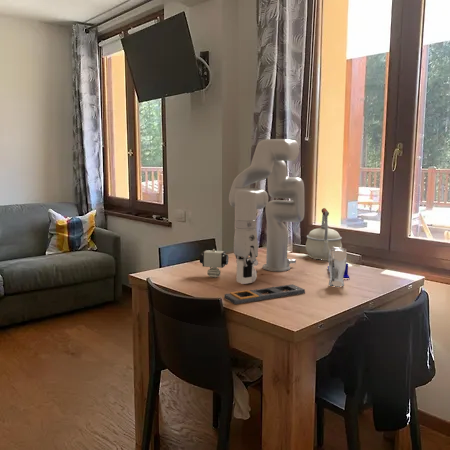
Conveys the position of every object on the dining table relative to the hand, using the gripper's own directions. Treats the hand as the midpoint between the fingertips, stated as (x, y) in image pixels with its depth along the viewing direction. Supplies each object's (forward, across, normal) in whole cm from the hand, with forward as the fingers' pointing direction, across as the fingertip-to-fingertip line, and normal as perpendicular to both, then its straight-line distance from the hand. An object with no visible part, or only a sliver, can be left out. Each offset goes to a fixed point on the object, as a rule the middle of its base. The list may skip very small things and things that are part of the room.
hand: (244, 275), depth 161 cm
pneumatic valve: (+9, +33, -4) cm, 35 cm away
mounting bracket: (+9, +13, -55) cm, 58 cm away
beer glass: (+9, -1, -42) cm, 43 cm away
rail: (+9, 0, -9) cm, 13 cm away
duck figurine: (+9, +19, -13) cm, 25 cm away
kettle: (+8, +41, -70) cm, 82 cm away
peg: (+2, 0, 0) cm, 2 cm away
